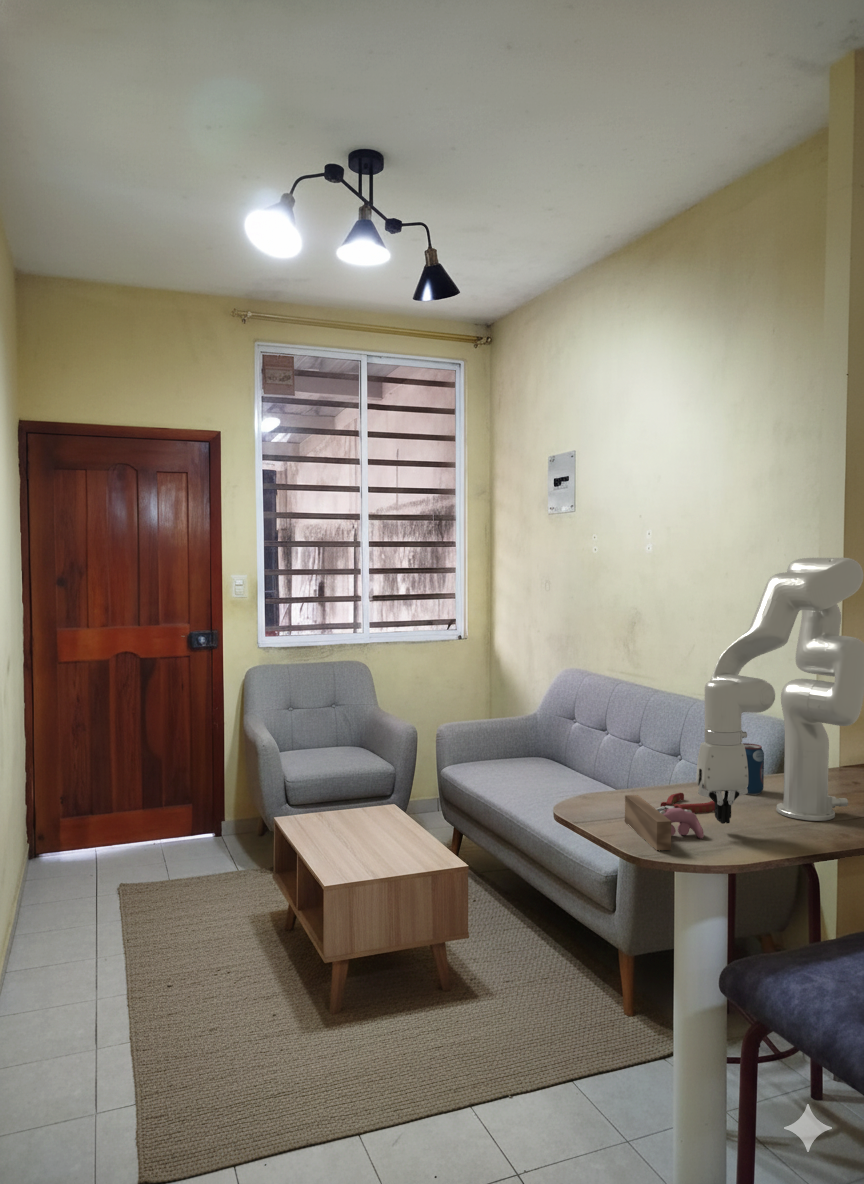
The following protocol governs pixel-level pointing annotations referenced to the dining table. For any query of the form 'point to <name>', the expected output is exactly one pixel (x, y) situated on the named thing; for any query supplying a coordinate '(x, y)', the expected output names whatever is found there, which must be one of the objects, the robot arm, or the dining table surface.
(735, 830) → the dining table surface
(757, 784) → the soda can
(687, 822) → the video game controller
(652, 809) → the bar
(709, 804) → the pliers
